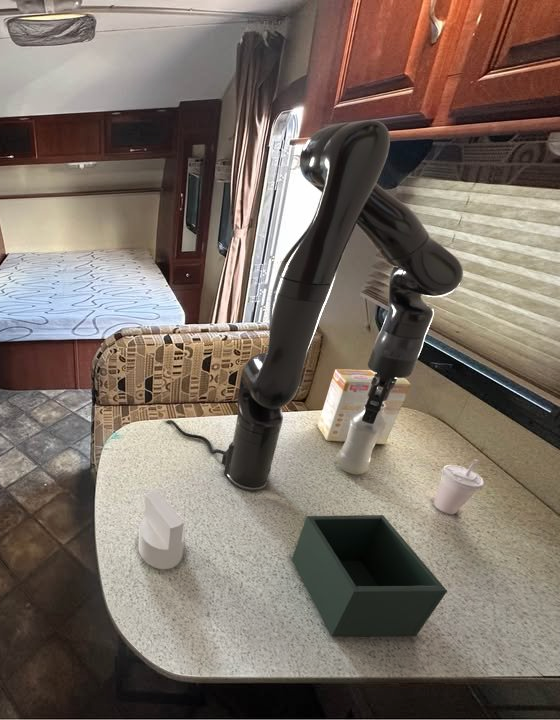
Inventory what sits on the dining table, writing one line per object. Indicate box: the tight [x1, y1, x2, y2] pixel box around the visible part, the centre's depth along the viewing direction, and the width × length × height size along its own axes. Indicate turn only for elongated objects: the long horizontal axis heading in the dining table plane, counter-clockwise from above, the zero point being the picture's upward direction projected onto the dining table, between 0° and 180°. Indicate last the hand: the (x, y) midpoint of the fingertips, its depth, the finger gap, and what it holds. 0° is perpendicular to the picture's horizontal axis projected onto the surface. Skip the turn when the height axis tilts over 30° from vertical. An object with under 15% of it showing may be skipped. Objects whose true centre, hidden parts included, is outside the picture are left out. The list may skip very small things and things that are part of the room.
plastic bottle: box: [336, 399, 385, 475], centre depth 89 cm, size 6×7×20 cm
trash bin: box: [291, 514, 448, 638], centre depth 64 cm, size 14×14×13 cm
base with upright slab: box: [138, 489, 186, 570], centre depth 74 cm, size 9×9×12 cm
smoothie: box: [433, 458, 485, 515], centre depth 79 cm, size 6×6×14 cm
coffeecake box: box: [317, 368, 412, 445], centre depth 100 cm, size 15×7×20 cm, turn 80°
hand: (371, 413), depth 86 cm, fingers open, 8 cm apart
